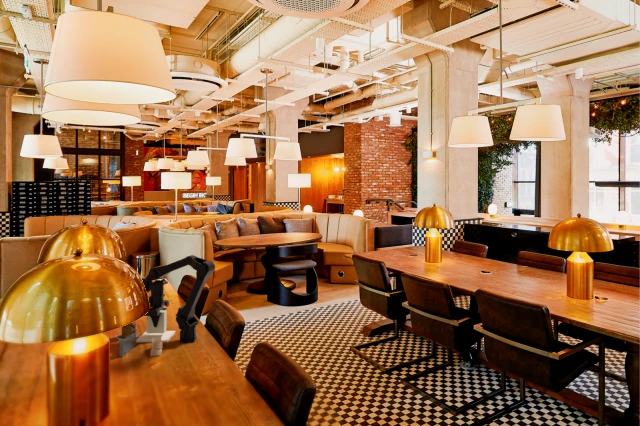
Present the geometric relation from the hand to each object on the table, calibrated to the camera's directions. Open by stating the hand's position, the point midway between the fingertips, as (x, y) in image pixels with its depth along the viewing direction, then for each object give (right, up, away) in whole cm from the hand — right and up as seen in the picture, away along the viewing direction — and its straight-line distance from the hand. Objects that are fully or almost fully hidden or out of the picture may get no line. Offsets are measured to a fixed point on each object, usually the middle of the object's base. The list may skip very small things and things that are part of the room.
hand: (156, 325), depth 199 cm
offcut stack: (+7, -7, -17) cm, 20 cm away
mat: (0, -6, 0) cm, 6 cm away
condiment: (-14, -6, 0) cm, 15 cm away
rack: (-6, -6, -17) cm, 19 cm away
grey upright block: (0, -3, 0) cm, 3 cm away
